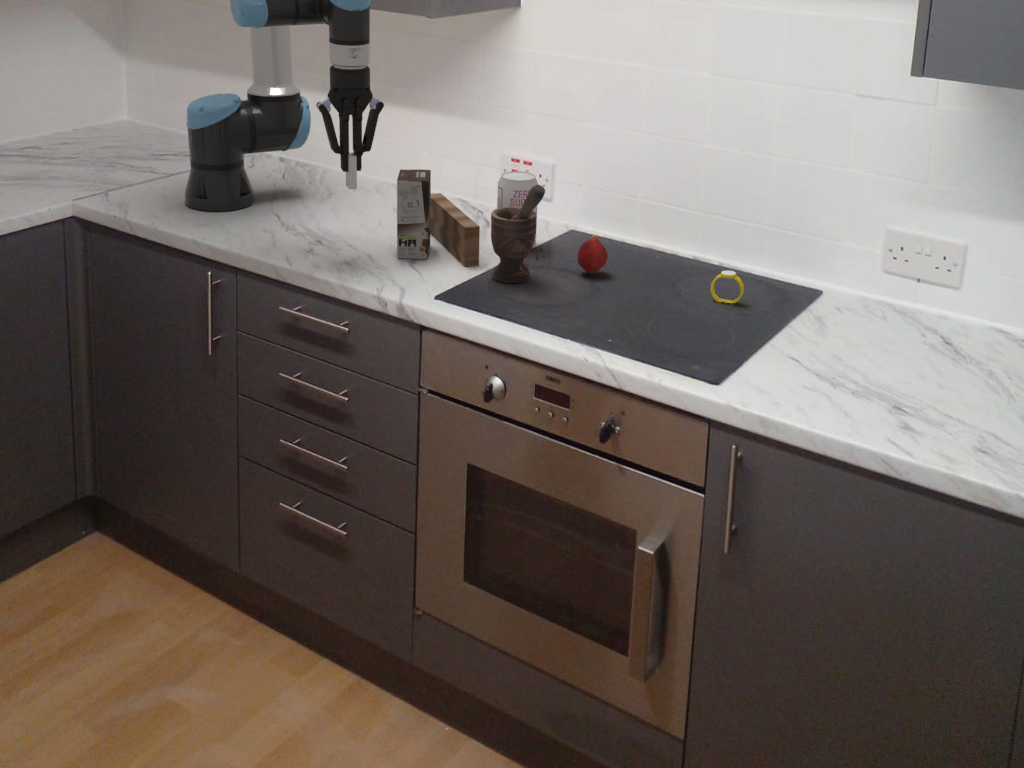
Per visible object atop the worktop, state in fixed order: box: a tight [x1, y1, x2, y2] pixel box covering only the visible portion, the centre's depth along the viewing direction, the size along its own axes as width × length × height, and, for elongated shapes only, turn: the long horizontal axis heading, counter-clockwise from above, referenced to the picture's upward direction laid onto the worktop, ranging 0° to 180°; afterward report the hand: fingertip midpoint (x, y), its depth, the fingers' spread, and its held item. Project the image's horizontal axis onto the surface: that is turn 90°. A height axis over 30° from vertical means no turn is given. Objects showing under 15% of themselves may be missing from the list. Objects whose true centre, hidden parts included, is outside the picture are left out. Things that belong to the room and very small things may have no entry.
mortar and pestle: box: [490, 184, 546, 284], centre depth 232 cm, size 12×9×20 cm
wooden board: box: [430, 192, 481, 267], centre depth 250 cm, size 24×3×8 cm, turn 22°
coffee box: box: [396, 169, 432, 260], centre depth 245 cm, size 9×6×16 cm
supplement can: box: [496, 170, 539, 249], centre depth 251 cm, size 8×8×15 cm
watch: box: [710, 270, 745, 305], centre depth 228 cm, size 6×3×6 cm, turn 69°
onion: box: [577, 234, 608, 275], centre depth 239 cm, size 6×6×8 cm
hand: (351, 186), depth 239 cm, fingers closed
